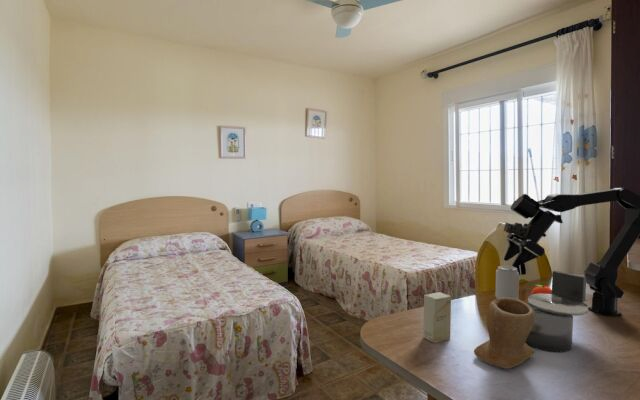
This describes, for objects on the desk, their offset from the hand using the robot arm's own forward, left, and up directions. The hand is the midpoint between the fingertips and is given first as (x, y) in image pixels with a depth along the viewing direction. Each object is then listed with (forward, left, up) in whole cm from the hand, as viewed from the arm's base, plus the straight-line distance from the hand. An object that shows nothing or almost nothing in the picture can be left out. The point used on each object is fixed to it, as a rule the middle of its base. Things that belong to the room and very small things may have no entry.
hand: (509, 263), depth 121 cm
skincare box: (+37, +18, -15) cm, 44 cm away
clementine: (-12, +2, -15) cm, 19 cm away
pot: (+11, +22, -15) cm, 28 cm away
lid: (+3, +22, -7) cm, 24 cm away
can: (-4, -5, -15) cm, 17 cm away
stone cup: (+26, +32, -15) cm, 44 cm away
